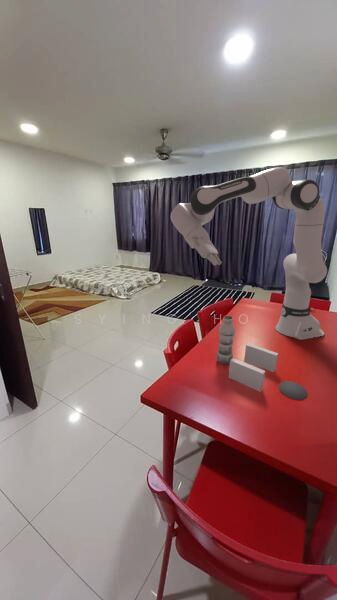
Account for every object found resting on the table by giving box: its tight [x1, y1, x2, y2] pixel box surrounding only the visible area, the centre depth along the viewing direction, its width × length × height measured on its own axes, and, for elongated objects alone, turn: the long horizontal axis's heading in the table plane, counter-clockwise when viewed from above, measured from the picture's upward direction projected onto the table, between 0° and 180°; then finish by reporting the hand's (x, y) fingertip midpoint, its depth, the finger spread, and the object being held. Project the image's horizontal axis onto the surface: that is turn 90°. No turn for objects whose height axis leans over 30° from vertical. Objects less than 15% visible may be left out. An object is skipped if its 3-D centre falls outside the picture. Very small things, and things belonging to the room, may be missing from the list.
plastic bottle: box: [216, 315, 236, 365], centre depth 96 cm, size 6×7×20 cm
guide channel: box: [228, 342, 279, 393], centre depth 91 cm, size 12×16×8 cm
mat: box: [278, 380, 309, 401], centre depth 84 cm, size 9×9×1 cm
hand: (218, 264), depth 99 cm, fingers open, 8 cm apart
